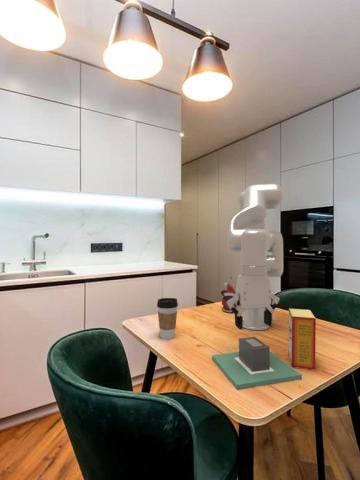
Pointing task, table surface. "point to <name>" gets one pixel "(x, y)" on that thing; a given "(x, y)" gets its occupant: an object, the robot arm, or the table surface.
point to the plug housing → (254, 354)
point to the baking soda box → (302, 338)
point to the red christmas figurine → (228, 296)
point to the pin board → (247, 378)
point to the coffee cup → (167, 317)
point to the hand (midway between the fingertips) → (253, 326)
